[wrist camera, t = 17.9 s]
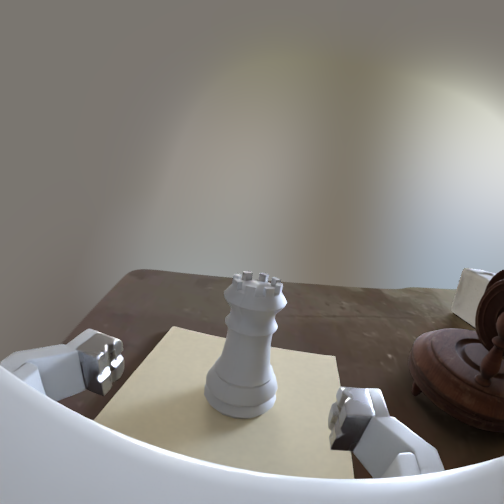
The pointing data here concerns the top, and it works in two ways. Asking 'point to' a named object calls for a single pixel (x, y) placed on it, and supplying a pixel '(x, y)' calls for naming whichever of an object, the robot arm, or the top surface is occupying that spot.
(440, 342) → the scroll
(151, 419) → the linen mat
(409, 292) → the top surface
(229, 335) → the rook chess piece
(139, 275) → the top surface
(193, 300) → the top surface
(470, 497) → the robot arm
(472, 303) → the box
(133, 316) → the top surface
